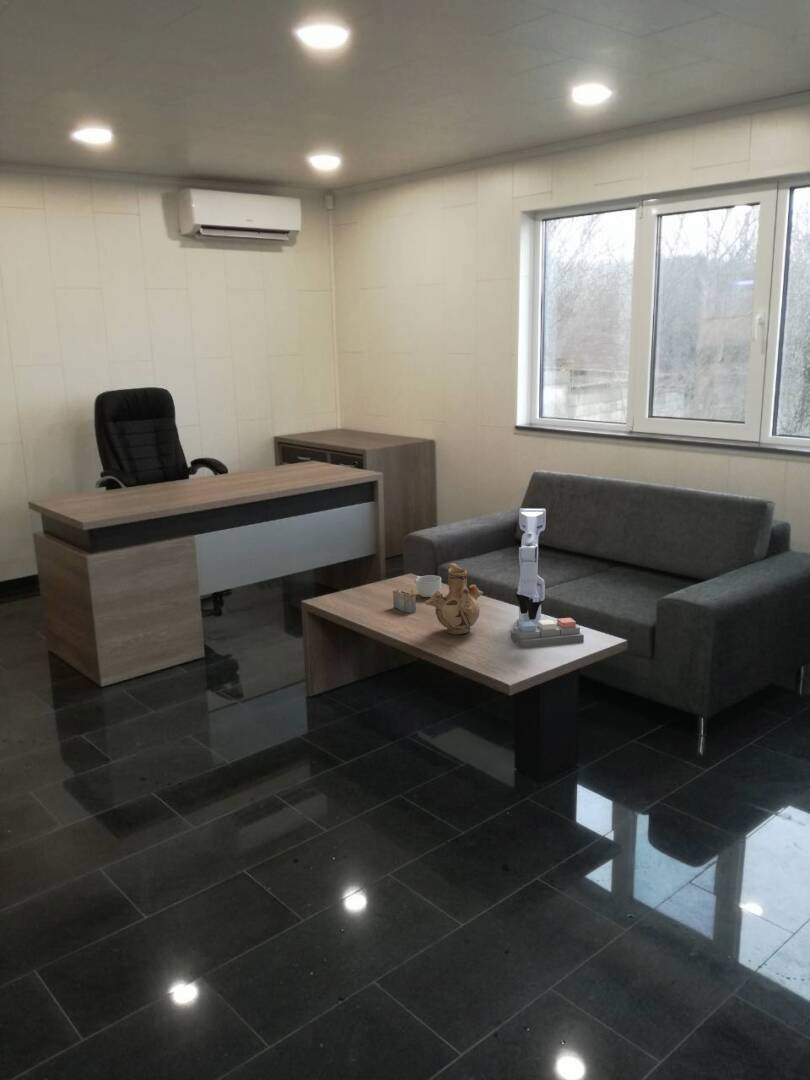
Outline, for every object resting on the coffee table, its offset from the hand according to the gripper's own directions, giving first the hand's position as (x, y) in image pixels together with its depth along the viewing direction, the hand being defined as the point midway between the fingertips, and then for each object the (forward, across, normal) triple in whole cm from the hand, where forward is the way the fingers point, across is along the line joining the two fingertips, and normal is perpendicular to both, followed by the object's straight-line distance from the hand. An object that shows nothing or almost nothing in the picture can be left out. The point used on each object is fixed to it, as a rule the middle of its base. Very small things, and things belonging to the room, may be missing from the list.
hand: (528, 616), depth 303 cm
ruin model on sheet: (+10, -52, -32) cm, 62 cm away
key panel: (+9, 0, +7) cm, 12 cm away
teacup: (+10, -70, -18) cm, 73 cm away
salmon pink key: (+5, 0, +15) cm, 16 cm away
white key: (+5, 0, +7) cm, 9 cm away
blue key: (+5, 0, 0) cm, 5 cm away
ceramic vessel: (+10, -18, -21) cm, 29 cm away
